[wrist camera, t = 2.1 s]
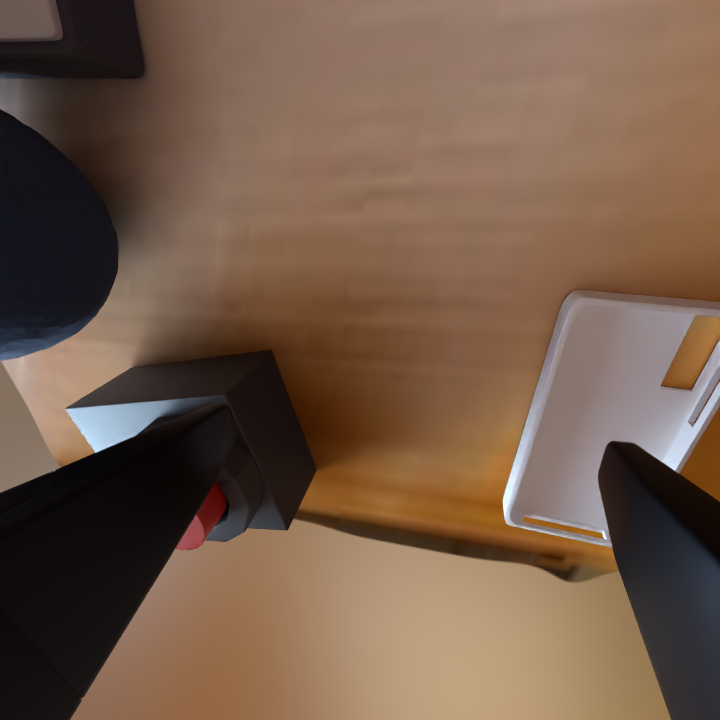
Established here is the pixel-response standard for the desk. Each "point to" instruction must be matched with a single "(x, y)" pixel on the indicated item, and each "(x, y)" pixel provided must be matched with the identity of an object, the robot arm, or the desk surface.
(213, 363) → the grey button base
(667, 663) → the robot arm
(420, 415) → the desk surface
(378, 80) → the desk surface
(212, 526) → the red button
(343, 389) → the desk surface
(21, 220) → the decorative stone
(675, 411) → the phone case
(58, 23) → the calculator
